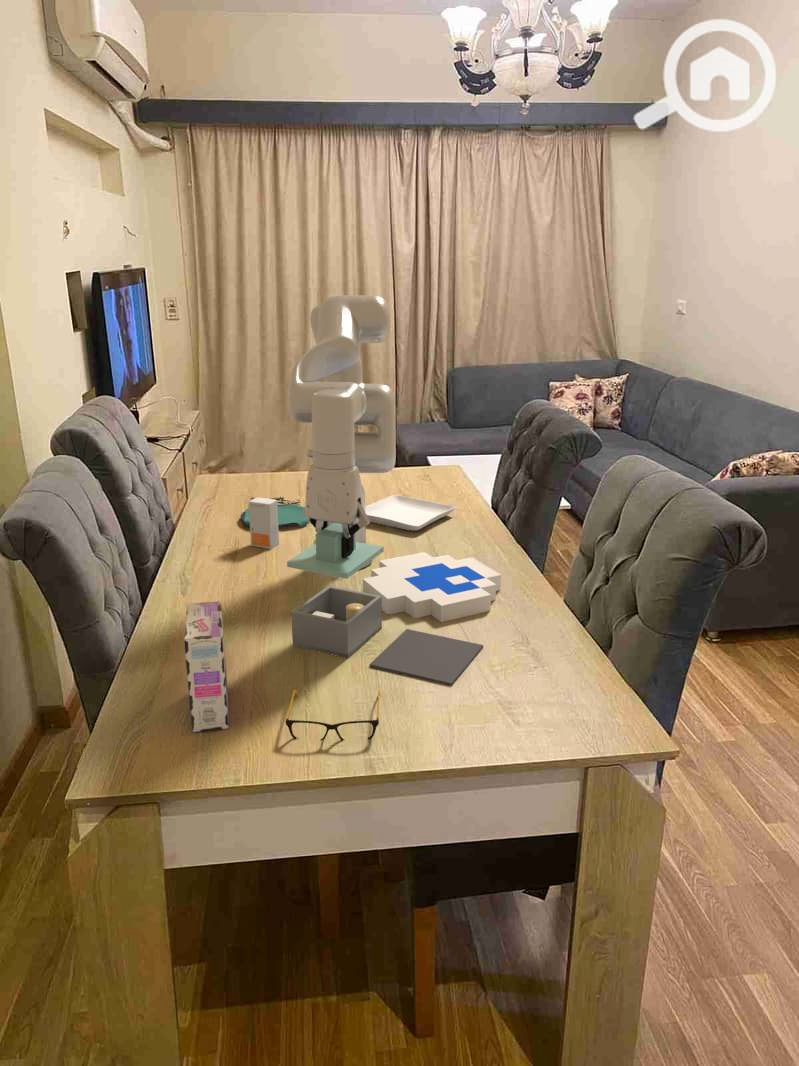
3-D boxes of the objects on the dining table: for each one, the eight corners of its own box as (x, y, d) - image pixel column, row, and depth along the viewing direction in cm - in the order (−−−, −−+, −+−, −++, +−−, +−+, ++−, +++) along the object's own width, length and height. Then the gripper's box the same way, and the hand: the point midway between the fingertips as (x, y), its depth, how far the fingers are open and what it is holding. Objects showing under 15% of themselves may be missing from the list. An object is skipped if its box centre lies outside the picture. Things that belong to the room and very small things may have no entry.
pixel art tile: (453, 546, 197) (522, 587, 174) (453, 562, 199) (521, 604, 175) (347, 566, 185) (406, 613, 162) (347, 582, 186) (406, 631, 163)
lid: (287, 566, 151) (285, 536, 149) (326, 541, 164) (326, 512, 162) (347, 578, 146) (346, 547, 144) (383, 551, 159) (383, 522, 157)
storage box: (292, 645, 156) (291, 612, 154) (329, 617, 168) (328, 585, 166) (348, 658, 151) (347, 624, 149) (381, 628, 163) (381, 596, 161)
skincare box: (250, 546, 208) (247, 501, 204) (259, 541, 211) (256, 496, 207) (271, 549, 205) (269, 504, 201) (279, 544, 209) (277, 499, 205)
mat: (369, 666, 149) (369, 664, 148) (406, 631, 162) (406, 628, 162) (451, 685, 142) (451, 683, 142) (483, 647, 156) (483, 645, 156)
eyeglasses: (285, 745, 126) (284, 722, 125) (296, 696, 140) (295, 675, 138) (378, 745, 126) (378, 722, 125) (380, 696, 140) (380, 675, 138)
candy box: (229, 729, 129) (222, 635, 124) (191, 734, 128) (182, 639, 123) (228, 686, 142) (221, 599, 136) (193, 689, 141) (185, 601, 135)
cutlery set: (238, 533, 217) (238, 525, 217) (244, 502, 246) (244, 494, 245) (314, 531, 220) (313, 523, 219) (311, 500, 248) (311, 493, 247)
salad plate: (457, 516, 232) (457, 505, 231) (417, 537, 215) (417, 525, 214) (394, 504, 243) (394, 493, 242) (352, 523, 226) (352, 511, 225)
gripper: (283, 458, 148) (287, 552, 155) (365, 470, 142) (366, 567, 148) (305, 449, 155) (308, 540, 161) (384, 459, 148) (385, 553, 154)
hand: (336, 552), depth 155 cm, fingers closed on lid, 4 cm apart
